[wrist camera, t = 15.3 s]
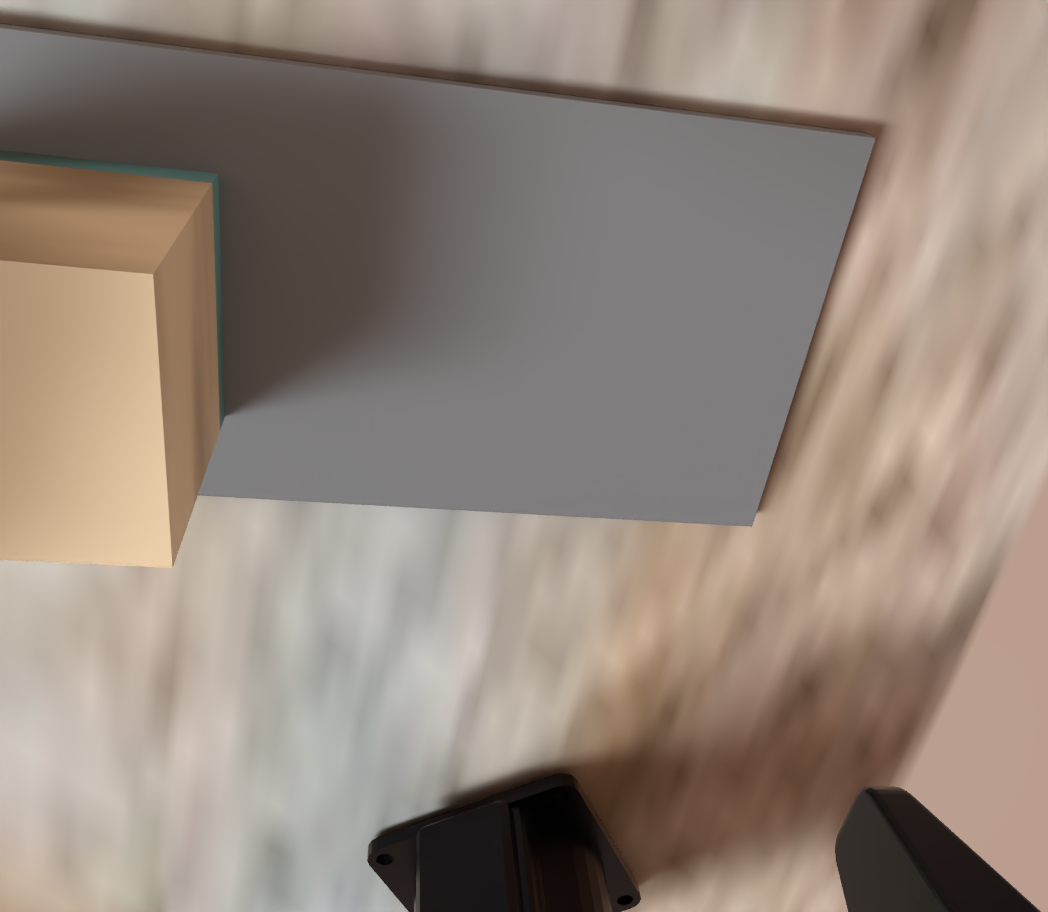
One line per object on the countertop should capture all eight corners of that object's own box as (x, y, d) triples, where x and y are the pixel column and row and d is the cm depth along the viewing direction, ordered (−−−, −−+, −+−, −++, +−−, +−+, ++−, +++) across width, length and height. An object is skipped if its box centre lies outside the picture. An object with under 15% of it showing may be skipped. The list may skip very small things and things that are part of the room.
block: (-261, 235, 12) (-85, 140, 16) (-168, 551, 14) (-37, 398, 19) (153, 274, 13) (218, 174, 17) (172, 568, 15) (225, 416, 20)
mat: (867, 132, 18) (875, 138, 18) (747, 516, 23) (751, 526, 22) (-233, -6, 15) (-248, -4, 15) (-116, 466, 20) (-125, 477, 19)
